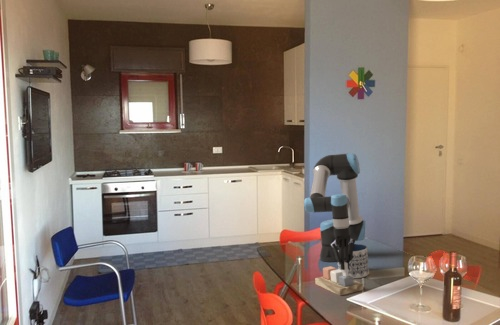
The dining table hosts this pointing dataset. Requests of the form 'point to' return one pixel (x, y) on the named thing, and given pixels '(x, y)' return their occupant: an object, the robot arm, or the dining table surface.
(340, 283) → the key
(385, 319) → the dining table surface
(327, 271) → the key
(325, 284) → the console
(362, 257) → the planter
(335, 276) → the key mid
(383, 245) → the dining table surface
